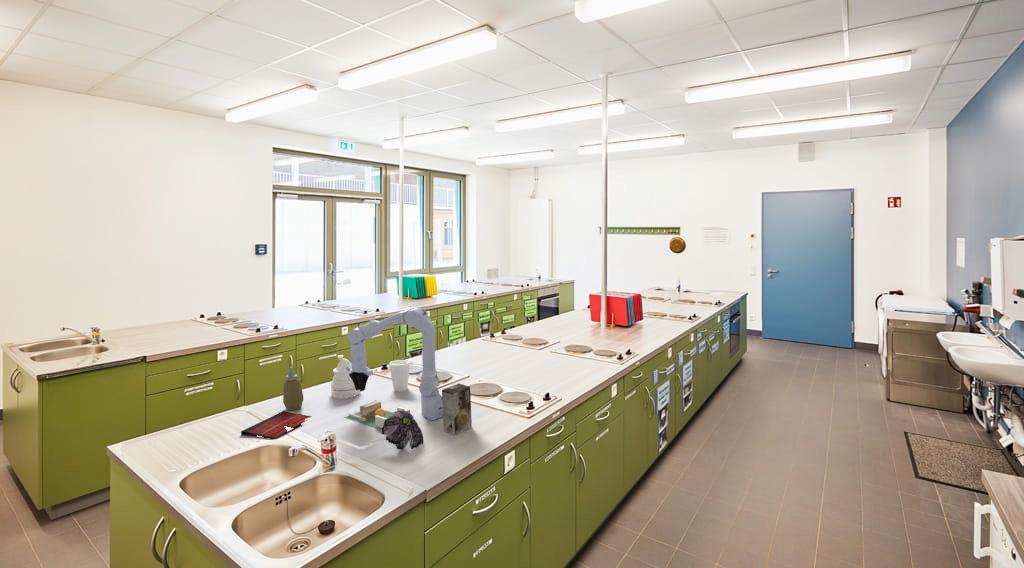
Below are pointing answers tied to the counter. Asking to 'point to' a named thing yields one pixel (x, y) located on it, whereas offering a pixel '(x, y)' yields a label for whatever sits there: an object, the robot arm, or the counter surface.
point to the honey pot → (343, 381)
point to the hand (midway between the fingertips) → (360, 390)
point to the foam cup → (399, 374)
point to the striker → (369, 409)
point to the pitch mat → (365, 421)
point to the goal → (380, 420)
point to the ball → (380, 412)
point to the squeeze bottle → (292, 391)
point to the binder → (276, 425)
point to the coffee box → (456, 409)
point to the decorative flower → (402, 430)
